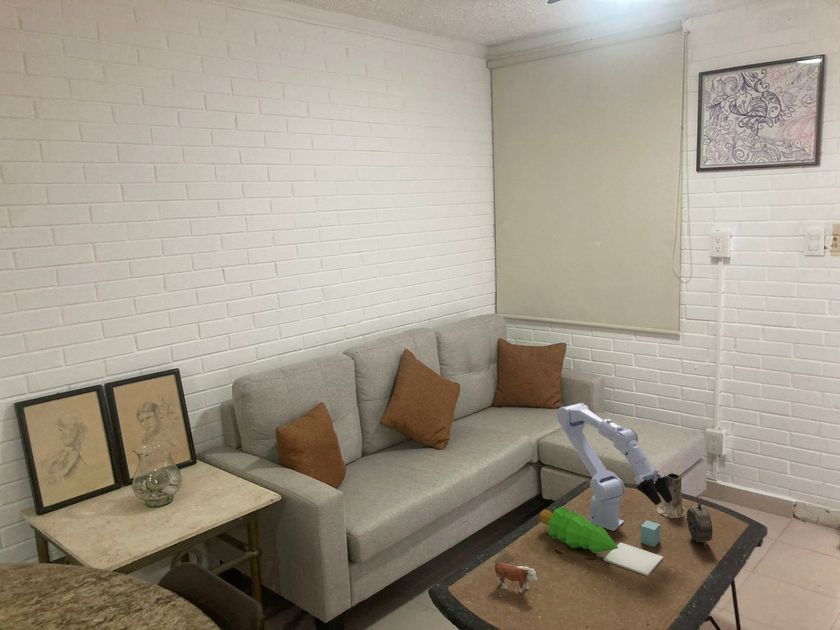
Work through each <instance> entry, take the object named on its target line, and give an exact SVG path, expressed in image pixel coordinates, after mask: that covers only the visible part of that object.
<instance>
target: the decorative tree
mask: <svg viewBox="0 0 840 630" xmlns="http://www.w3.org/2000/svg"><path fill="white" fill-rule="evenodd" d="M539 520H540V522H541V523H542V524H545V525H547V526H548V531H547V532H548V535H549V536H551V537H552V538H553V539H554V540H556V539H557V540H559V541H560V542H562V543H563V544H566V545H568V546H569V547H570V548H572V549H577V548H582V549H583V550H586V549H589V550H590V552H592V553H594V554H598V553H602V552H607V551H612V550H613V549H617V548H618V547H617V545H618V544H616V542H615V541H614V540H613V539H612V537H611V536H610V535H609V533H608V532H607V531H606V530H605V528H603V527H601V526H597V525H595V524H594V523H593V522H592V521H590V520H589V521H590V522H589V521H588V519H586V517H585V516H583V515H582V514H581V513H579V514H577V513H576V512H575V511H574V510H573V509H571V510H568V509H567V508H566V507H565V506H564V505H562V506H560V507H558V508H556V509H554V510H553V512H552V511H550V510H548V509H546V508H545V509H543V510H541V512H540V514H539Z"/></svg>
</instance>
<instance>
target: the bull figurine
mask: <svg viewBox="0 0 840 630" xmlns="http://www.w3.org/2000/svg"><path fill="white" fill-rule="evenodd" d="M536 570H537V567H535V568H532V567H531V568H530V567H528V566H521V565H519V566H518V565H513V564H509V563H504V562H497V563H495V565H494V572H495V574H496V579H497V582H498V584H502V589H504V590H507V591H508V590H509V587H508V586H507V585H506V583H505V579H507V580H509V581H510V582H511V583H513V582H517V583H518V585H519V588H518V592H519V594H523V593H524V592H523V590H522V588H523V586H524V589H526V590H527V591H530V587H529V585H528V584H529V583H530V582H532V581H533V582H537V581H538V577H537V572H536Z"/></svg>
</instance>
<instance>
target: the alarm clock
mask: <svg viewBox="0 0 840 630" xmlns="http://www.w3.org/2000/svg"><path fill="white" fill-rule="evenodd" d="M699 498H700V502H701V503H700V502H699ZM696 501H697V505H694V506H690V507H688V509H687V510H686V511H687V515H686V517H685V518H686V522H687V529H688V531H689V533H690V537H691V539H690V540H689V541H690V543H691V542H693V540H694V541H695V542H697V543H701V542H702V543H703V546H704V549H705V550H708V546H707V542H710V541H711V540H712V538H713V533H714V532H713V530H714V529H713V524H712V519H711V515H710V513H709V511H708V509H707V508H706V506H704V505H703V499H702V496H701V495H700V494H698V495H697V497H696Z"/></svg>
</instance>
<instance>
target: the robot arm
mask: <svg viewBox="0 0 840 630" xmlns="http://www.w3.org/2000/svg"><path fill="white" fill-rule="evenodd" d="M556 417H557V418H556V420H557V421H558V423H559V425H560V426H561V428H562V430H563V431H564V433H565V435H566V437H567V438H568V440H569V442H570V443H571V445H572V446H573V448H574V449H575V451H576V453H577V454H578V456H579V458H580V459H581V461H582V463H583V464H584V466H585V468H586V469H587V470H588V473H589V474H590V476H591V480H590V483H589V487H590V488H591V491H592V494H593V496H592V497H591V499H590V502H589V521H588V522H590V521H592V522H593V523H594V524H595V525H596V526H597V527H598V526H601V527H602V528H603V529H606V530H610V531H613V532H614V531H616V530H617V529H618V528H619V527H620V526H621V525H622V524H624V523H625V521H624V520H622V519H620V500H621V499H622V496H623V495H624V494H625V491H626V488H625V484H624V482H623V480H622V479H620V478H619V477H618V476H617V474H616V473H615V472H613V471H611V470H608V469H607V468H606V466H605V465H604V464H603V462H602V460H601V459H600V457H599V456H598V455H597V453H596V451H595V450H594V448H593V447H592V445H591V444H590V441H589V440H588V439H587V437H586V436H585V433H584V432H583V430H584V429H585V428H586V424H588V425H590V426H591V427H594V428H596V429H597V431H598V434H600V435H601V436H602V437H604V438H606V439H607V440H608V441H611V442H612V443H613V447H614V448H615V449H616V450H618V451H619V452H620V453H621V455H622V456H624V457H625V459H626V461H627V462H628V464H629V466H630V467H631V469H632V471H633V472H634V473H635V475H636V477H635V478H634V481H635V482H636V484H637V486H636V490H637V491H639V492H641V493H642V494H644V495H645V496H646V497H647V498H648V500H650V501H651V502H652V503H653V504H654V505H655V506H657V505H659V504H660V503H661V504H662V503H663V501H664V500H665V502H666V503H669V502H670V501H672V500H673V498H672V495H671V493H670V490H669V486H668V478H667V477H664V476H663V474H662V473H660V469H655V468H654V467H653V464H652V463H651V461H650V460H649V458H648V457H647V455H646V454H645V452H644V451H643V449H642V447H641V446H640V444H639V443H638V441H639V438H638V434H637V432H636V431H635V430H634V429H633V428H631V427H627V428H625V427H623V426H621V425H619V424H617V423H616V422H613V419H612V418H609V419H608V418H607V419H606V418H605V419H602V418H601V417H599V416H598V415H597V414H595V413H594V412H593V411H591V410H590V409H589V405H586V404H585V403H584V402H578V403H576V404H571V405H567V406H561V407H559V408H558V410H557V416H556ZM661 498H662V499H663V501H662V499H661Z"/></svg>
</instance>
